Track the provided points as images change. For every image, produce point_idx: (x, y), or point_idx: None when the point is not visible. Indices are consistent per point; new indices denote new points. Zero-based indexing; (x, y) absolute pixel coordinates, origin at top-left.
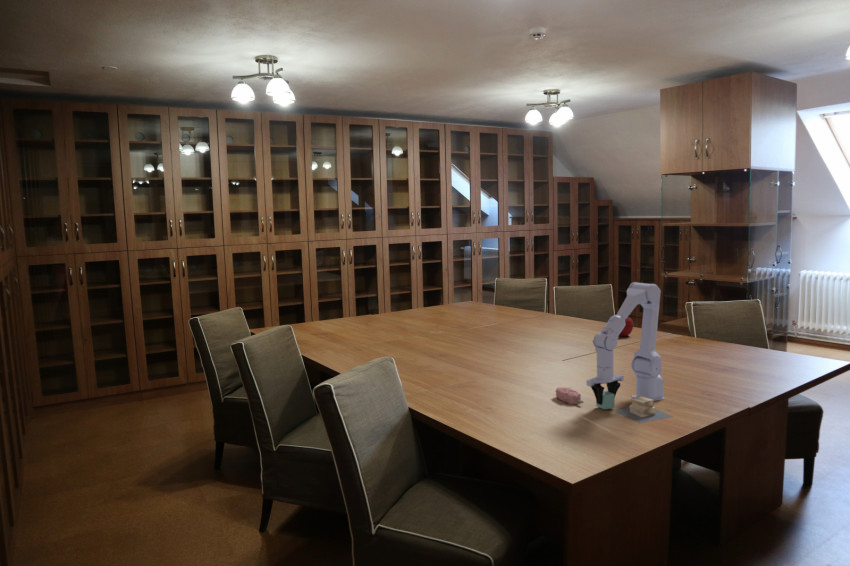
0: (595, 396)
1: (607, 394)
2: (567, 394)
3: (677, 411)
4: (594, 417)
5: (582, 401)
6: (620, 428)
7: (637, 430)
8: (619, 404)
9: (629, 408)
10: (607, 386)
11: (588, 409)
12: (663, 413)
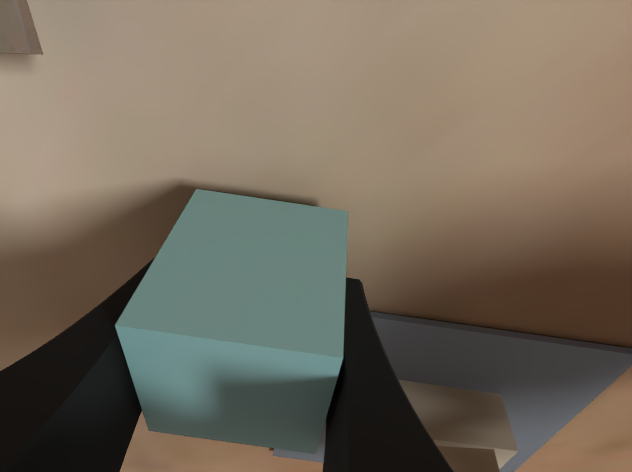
0: (99, 310)
1: (223, 429)
2: None
3: (622, 467)
4: (68, 303)
5: (15, 45)
6: (139, 435)
7: (201, 467)
8: (521, 224)
9: (448, 342)
10: (346, 456)
11: (103, 150)
12: (511, 459)
